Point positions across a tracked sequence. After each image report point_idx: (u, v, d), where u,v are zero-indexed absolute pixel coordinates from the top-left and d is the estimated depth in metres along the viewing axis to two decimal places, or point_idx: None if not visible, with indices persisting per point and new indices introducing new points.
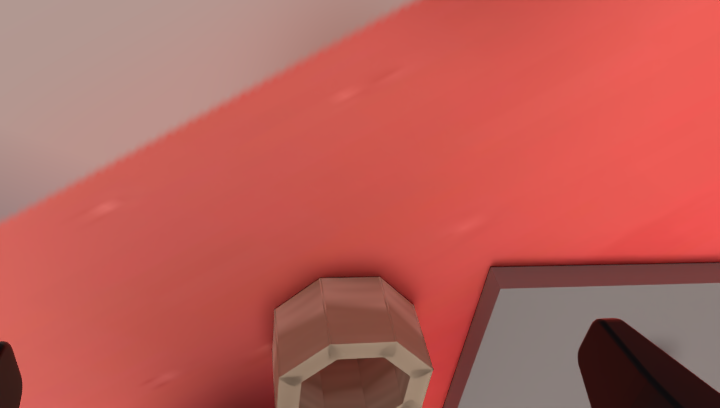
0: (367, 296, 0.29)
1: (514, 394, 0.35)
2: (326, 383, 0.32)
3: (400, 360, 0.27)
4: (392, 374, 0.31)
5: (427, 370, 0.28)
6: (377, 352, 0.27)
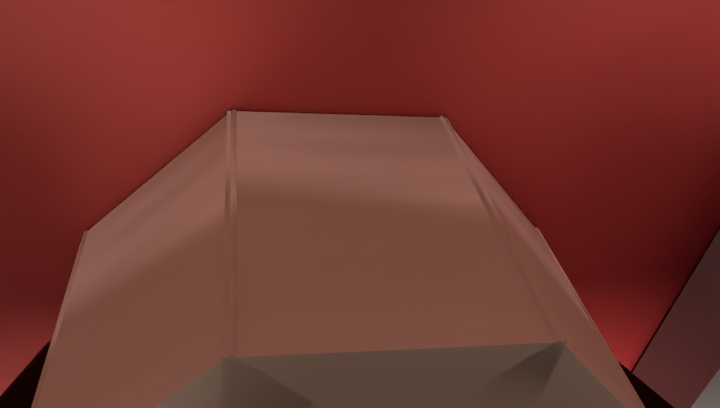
0: (406, 168, 0.07)
1: None
2: None
3: None
4: None
5: None
6: (465, 390, 0.06)
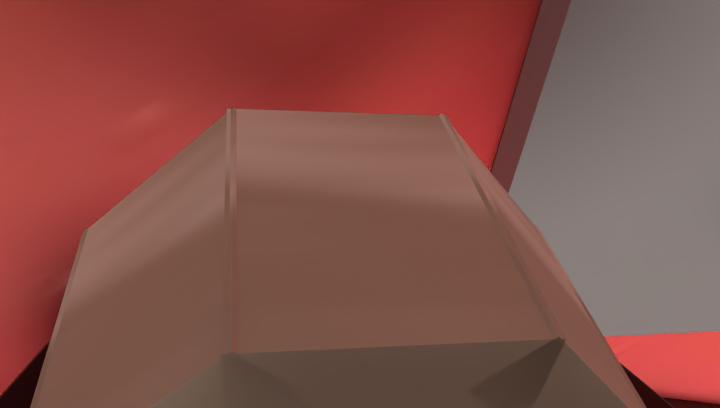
0: (406, 165, 0.07)
1: (584, 232, 0.21)
2: None
3: None
4: None
5: None
6: (465, 387, 0.06)
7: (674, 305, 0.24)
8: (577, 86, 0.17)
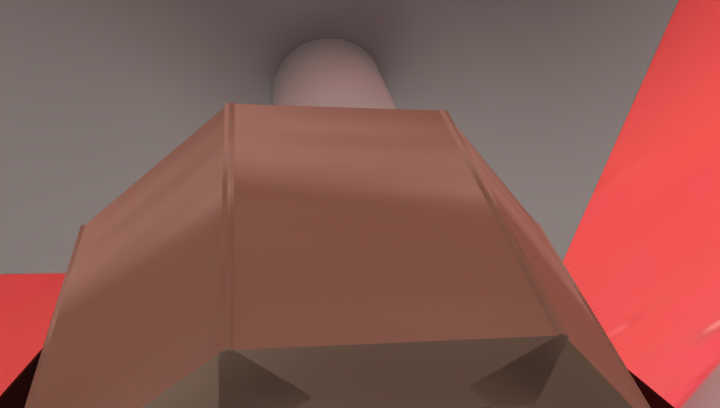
0: (406, 160, 0.07)
1: (82, 130, 0.17)
2: None
3: None
4: None
5: None
6: (465, 384, 0.06)
7: None
8: None
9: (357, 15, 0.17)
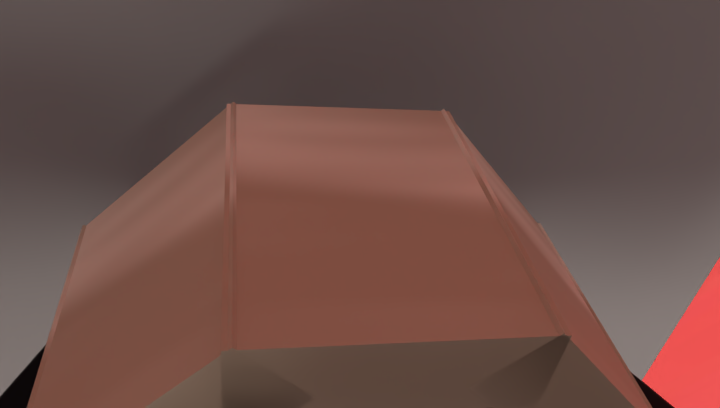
0: (408, 161, 0.07)
1: None
2: None
3: None
4: None
5: None
6: (468, 384, 0.06)
7: None
8: None
9: None
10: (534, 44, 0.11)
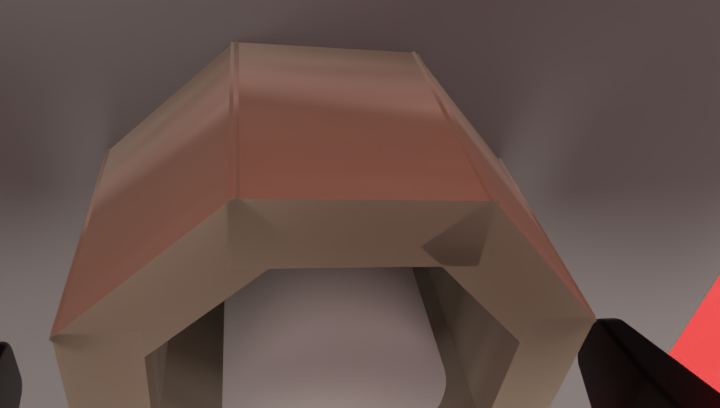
0: (380, 86, 0.09)
1: None
2: None
3: (497, 282, 0.08)
4: (444, 345, 0.11)
5: (577, 323, 0.09)
6: (420, 244, 0.07)
7: None
8: None
9: None
10: (538, 52, 0.10)
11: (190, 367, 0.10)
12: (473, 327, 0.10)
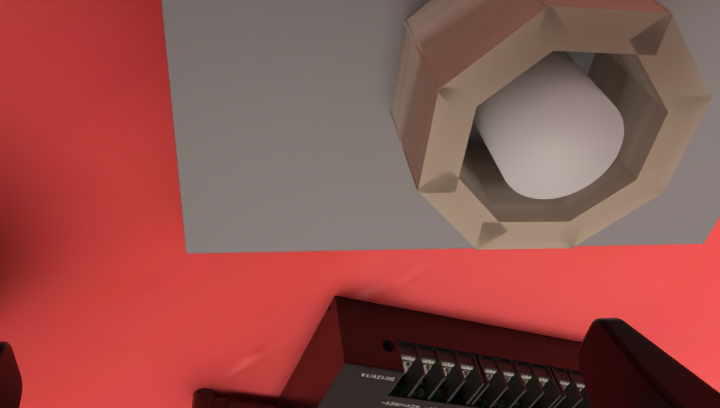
0: None
1: (284, 118, 0.19)
2: (482, 170, 0.19)
3: (663, 67, 0.14)
4: None
5: (701, 100, 0.15)
6: (629, 39, 0.14)
7: (432, 214, 0.22)
8: None
9: None
10: None
11: None
12: (627, 124, 0.17)
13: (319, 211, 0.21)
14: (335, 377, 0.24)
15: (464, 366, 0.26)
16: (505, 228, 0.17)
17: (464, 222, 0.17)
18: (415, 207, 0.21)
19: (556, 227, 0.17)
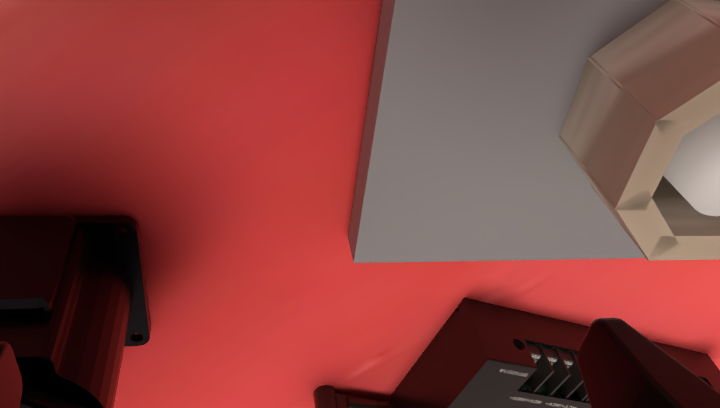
0: None
1: (467, 141, 0.21)
2: None
3: None
4: None
5: None
6: None
7: (574, 228, 0.24)
8: None
9: None
10: None
11: None
12: None
13: (478, 224, 0.23)
14: (476, 372, 0.26)
15: None
16: (676, 241, 0.19)
17: (645, 236, 0.19)
18: (561, 221, 0.24)
19: (719, 240, 0.20)
